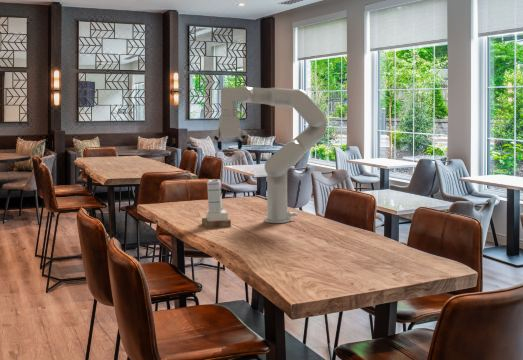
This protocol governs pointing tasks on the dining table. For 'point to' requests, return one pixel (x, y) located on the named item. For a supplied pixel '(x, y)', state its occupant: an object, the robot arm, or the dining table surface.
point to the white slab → (217, 216)
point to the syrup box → (214, 195)
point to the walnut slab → (216, 223)
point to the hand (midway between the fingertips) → (229, 149)
